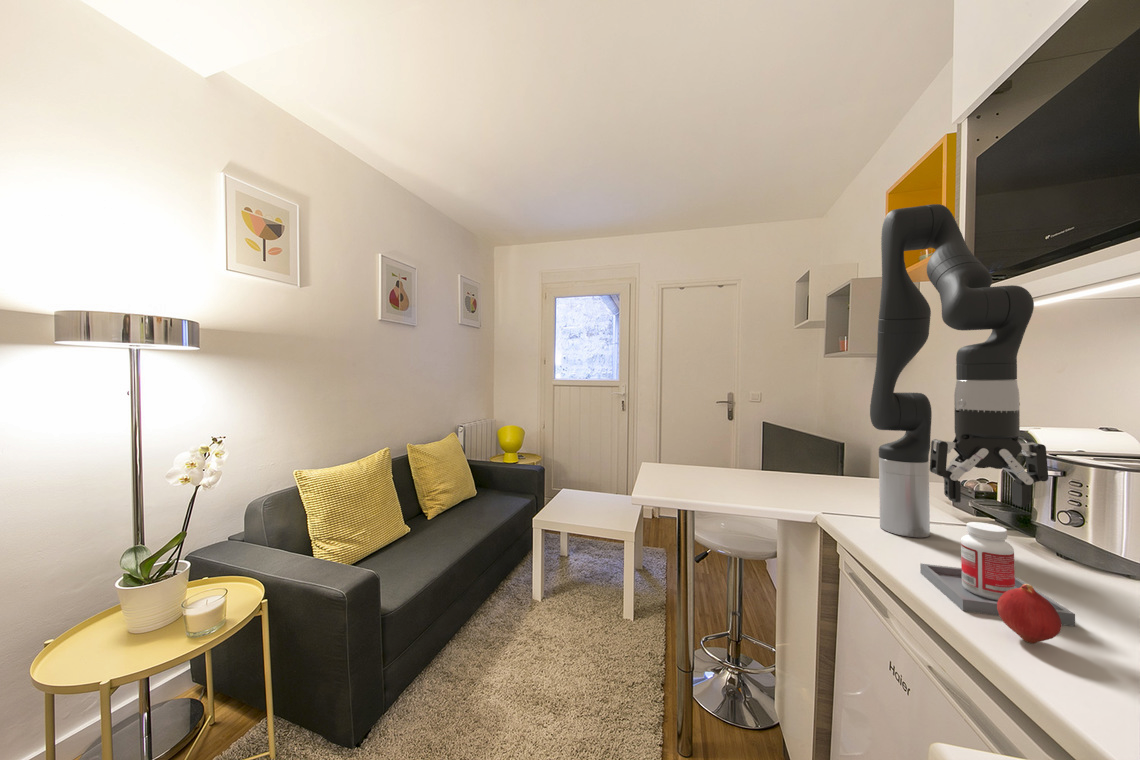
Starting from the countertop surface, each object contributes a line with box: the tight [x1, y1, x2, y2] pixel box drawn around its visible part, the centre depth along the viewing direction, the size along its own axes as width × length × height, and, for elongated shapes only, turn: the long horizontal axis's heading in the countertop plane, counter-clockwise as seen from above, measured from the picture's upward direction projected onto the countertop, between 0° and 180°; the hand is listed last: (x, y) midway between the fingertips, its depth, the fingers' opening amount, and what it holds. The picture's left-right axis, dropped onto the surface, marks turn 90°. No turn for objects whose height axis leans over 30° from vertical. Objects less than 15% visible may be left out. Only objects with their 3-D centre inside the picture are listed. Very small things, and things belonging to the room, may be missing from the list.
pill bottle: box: [960, 521, 1016, 601], centre depth 66 cm, size 6×6×11 cm
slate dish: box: [919, 562, 1076, 627], centre depth 66 cm, size 13×13×2 cm
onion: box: [997, 583, 1063, 644], centre depth 55 cm, size 6×6×8 cm
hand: (986, 503), depth 67 cm, fingers open, 8 cm apart
